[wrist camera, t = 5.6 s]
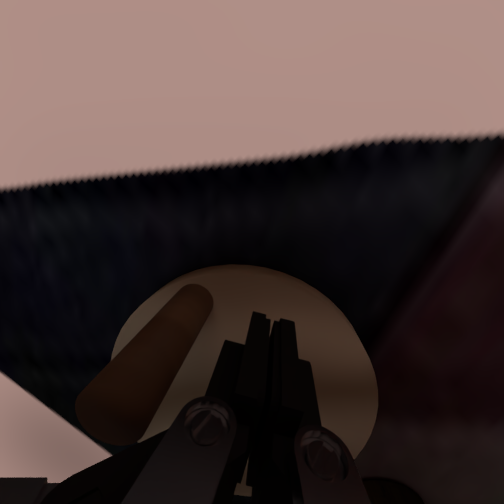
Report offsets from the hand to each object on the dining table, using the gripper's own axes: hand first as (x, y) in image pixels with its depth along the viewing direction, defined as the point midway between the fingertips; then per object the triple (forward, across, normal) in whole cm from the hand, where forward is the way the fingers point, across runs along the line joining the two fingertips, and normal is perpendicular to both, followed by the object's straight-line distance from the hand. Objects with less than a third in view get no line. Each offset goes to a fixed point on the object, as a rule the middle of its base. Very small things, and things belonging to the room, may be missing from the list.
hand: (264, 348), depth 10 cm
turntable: (+4, 0, +5) cm, 6 cm away
